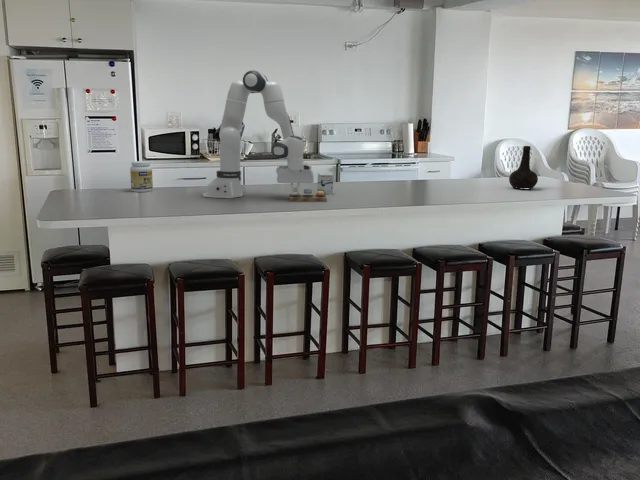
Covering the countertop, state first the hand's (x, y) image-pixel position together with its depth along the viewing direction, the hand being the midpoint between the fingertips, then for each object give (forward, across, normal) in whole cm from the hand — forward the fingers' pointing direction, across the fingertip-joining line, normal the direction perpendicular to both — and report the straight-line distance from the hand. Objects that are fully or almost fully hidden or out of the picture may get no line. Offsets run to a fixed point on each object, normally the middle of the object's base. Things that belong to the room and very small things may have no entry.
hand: (295, 191), depth 332 cm
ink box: (+5, +19, +22) cm, 29 cm away
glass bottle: (+5, +152, +49) cm, 160 cm away
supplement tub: (+5, -88, +28) cm, 92 cm away
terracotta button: (+2, +14, 0) cm, 14 cm away
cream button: (+2, 0, 0) cm, 2 cm away
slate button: (+1, +7, 0) cm, 7 cm away
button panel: (+5, +7, 0) cm, 8 cm away
